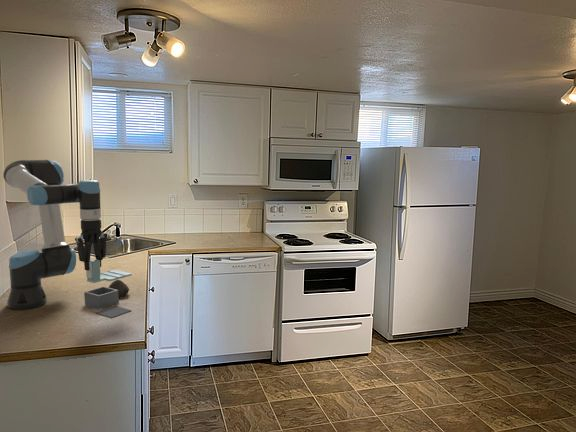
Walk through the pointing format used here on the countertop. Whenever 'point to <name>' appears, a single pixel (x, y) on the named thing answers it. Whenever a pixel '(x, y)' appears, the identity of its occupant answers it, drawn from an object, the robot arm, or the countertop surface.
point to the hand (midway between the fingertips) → (93, 276)
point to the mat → (113, 311)
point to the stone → (120, 288)
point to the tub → (101, 297)
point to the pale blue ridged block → (105, 273)
